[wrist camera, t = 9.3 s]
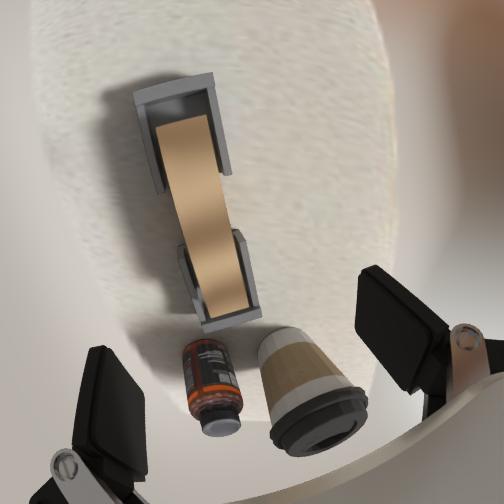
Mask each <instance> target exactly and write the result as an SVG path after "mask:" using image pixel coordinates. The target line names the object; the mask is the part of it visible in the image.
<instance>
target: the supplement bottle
mask: <svg viewBox="0 0 504 504" xmlns="http://www.w3.org/2000/svg"><path fill="white" fill-rule="evenodd" d="M182 360H183V370H184V378H185V386H186V393H187V400H188V407H189V411H190V413H191V415H192V416H193V417H194V418H195V419H197V420H199V421H200V424H201V427H202V431H203V433H204V434H206V435H208V436H211V437H224V436H228V435H231V434H233V433H235V432H237V431H238V430H239V429H240V427H241V423H240V419H239V416H238V414H239V413H240V412H241V411H242V408H243V399H242V396H241V392H240V389H239V386H238V383H237V380H236V376H235V373H234V370H233V366H232V363H231V360H230V356H229V353H228V350H227V349H226V347H225V346H224V345H223V344H221V343H220V342H217V341H214V340H200V341H197V342H194V343H192V344H191V345H189V346H188V347H187V348H186V349H185V351H184V353H183V356H182Z"/></svg>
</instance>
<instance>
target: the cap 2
mask: <svg viewBox="0 0 504 504" xmlns="http://www.w3.org/2000/svg"><path fill="white" fill-rule="evenodd" d="M232 235H233V240H234V244H235V248H236V253H237V257H238V261H239V266H240V270H241V274H242V278H243V283H244V287H245V291H246V295H247V300H248V304H249V307H248V308H244V309H241V310H238V311H234V312H231V313H227V314H224V315H220V316H217V317H213V318H211V317H210V314H209V312H208V309H207V306H206V303H205V300H204V297H203V294H202V291H201V288H200V285H199V282H198V279H197V276H196V273H195V270H194V267H193V264H192V261H191V258H190V254H189V251H188V248H187V245H186V244H184V245H181V246H178V262H179V265H180V268H181V271H182V274H183V276H184V279H185V282H186V285H187V288H188V290H189V293H190V296H191V299H192V301H193V304H194V307H195V309H196V312H197V314H198V317H199V320H200V322H201V326H202V329H203V331H204V334H206V333H210V332H214V331H217V330H221V329H224V328H228V327H231V326H235V325H238V324H241V323H245V322H248V321H251V320H255V319H258V318H261V317H262V312H261V308H260V306H259V301H258V296H257V291H256V286H255V282H254V277H253V272H252V267H251V262H250V258H249V253H248V248H247V243H246V240H245V238H244V237H243V235H242V234H241V232H240V230H239V229H238V230H235V231H232Z"/></svg>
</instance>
